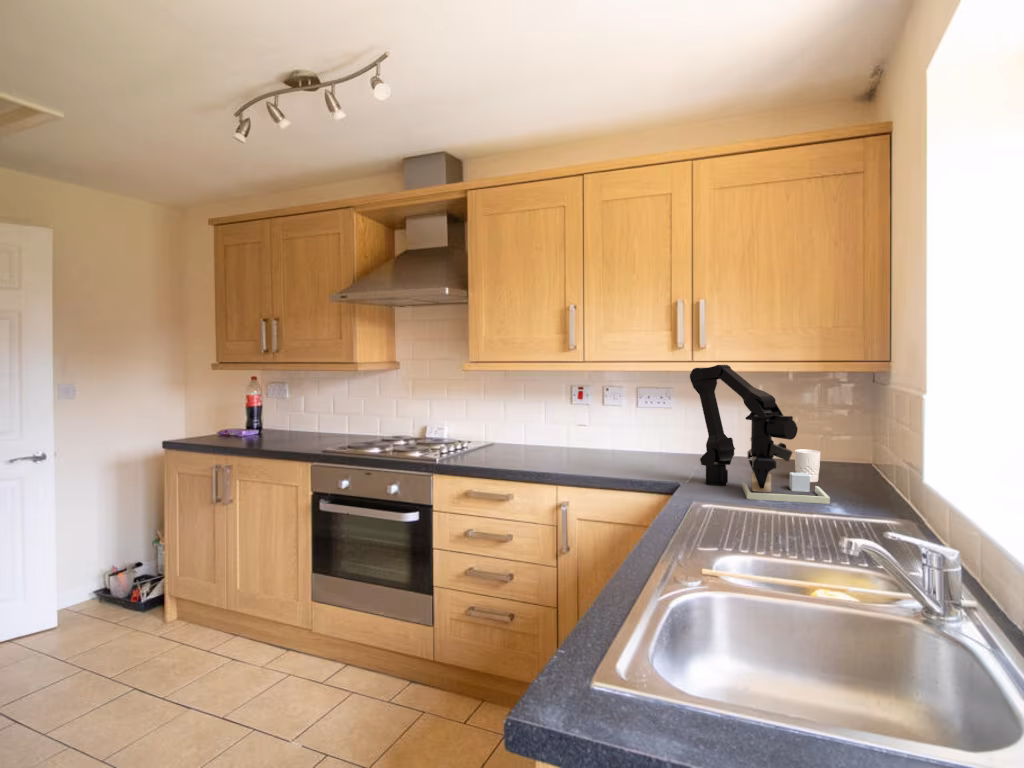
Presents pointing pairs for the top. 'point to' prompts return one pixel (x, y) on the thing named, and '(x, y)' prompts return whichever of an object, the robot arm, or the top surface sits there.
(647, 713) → the top surface
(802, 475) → the blue block
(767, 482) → the beech block
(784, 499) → the tray
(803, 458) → the white cup
